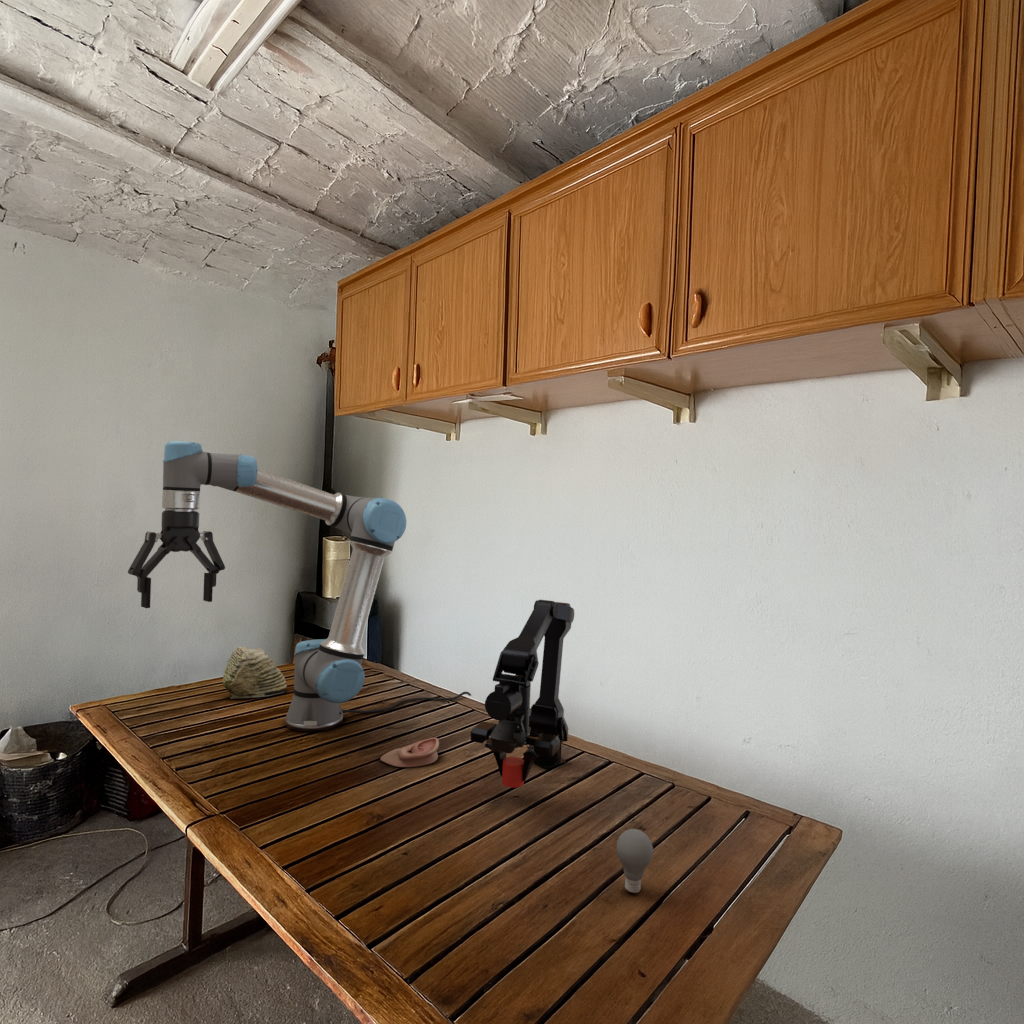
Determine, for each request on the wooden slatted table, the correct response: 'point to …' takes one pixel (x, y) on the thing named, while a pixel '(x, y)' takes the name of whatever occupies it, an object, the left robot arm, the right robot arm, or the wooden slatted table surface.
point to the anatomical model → (413, 754)
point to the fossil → (252, 674)
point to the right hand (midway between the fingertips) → (513, 778)
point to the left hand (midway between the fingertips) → (177, 604)
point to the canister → (512, 772)
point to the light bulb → (634, 857)
